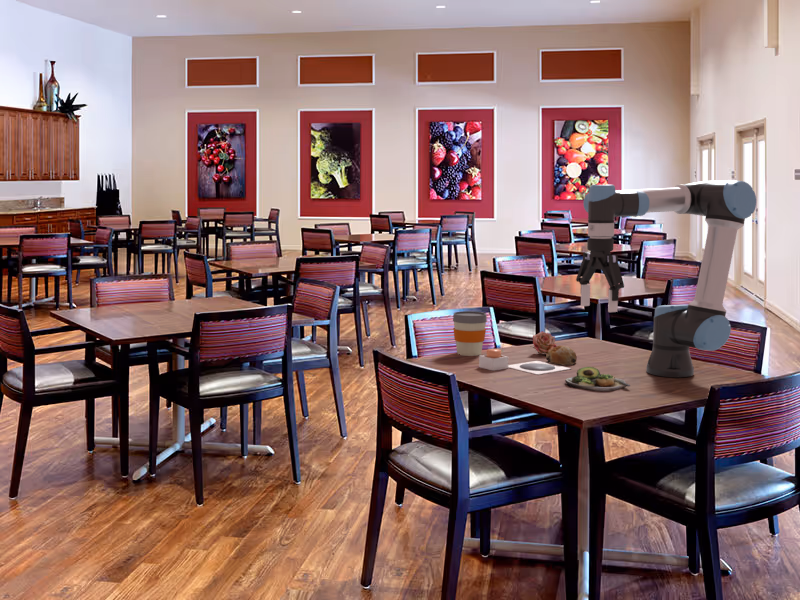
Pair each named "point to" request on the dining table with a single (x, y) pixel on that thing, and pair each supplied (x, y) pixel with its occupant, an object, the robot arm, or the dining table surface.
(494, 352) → the button
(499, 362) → the button housing
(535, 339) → the flower
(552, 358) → the bread roll
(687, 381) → the dining table surface
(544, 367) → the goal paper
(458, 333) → the reusable coffee cup
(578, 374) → the salad plate
